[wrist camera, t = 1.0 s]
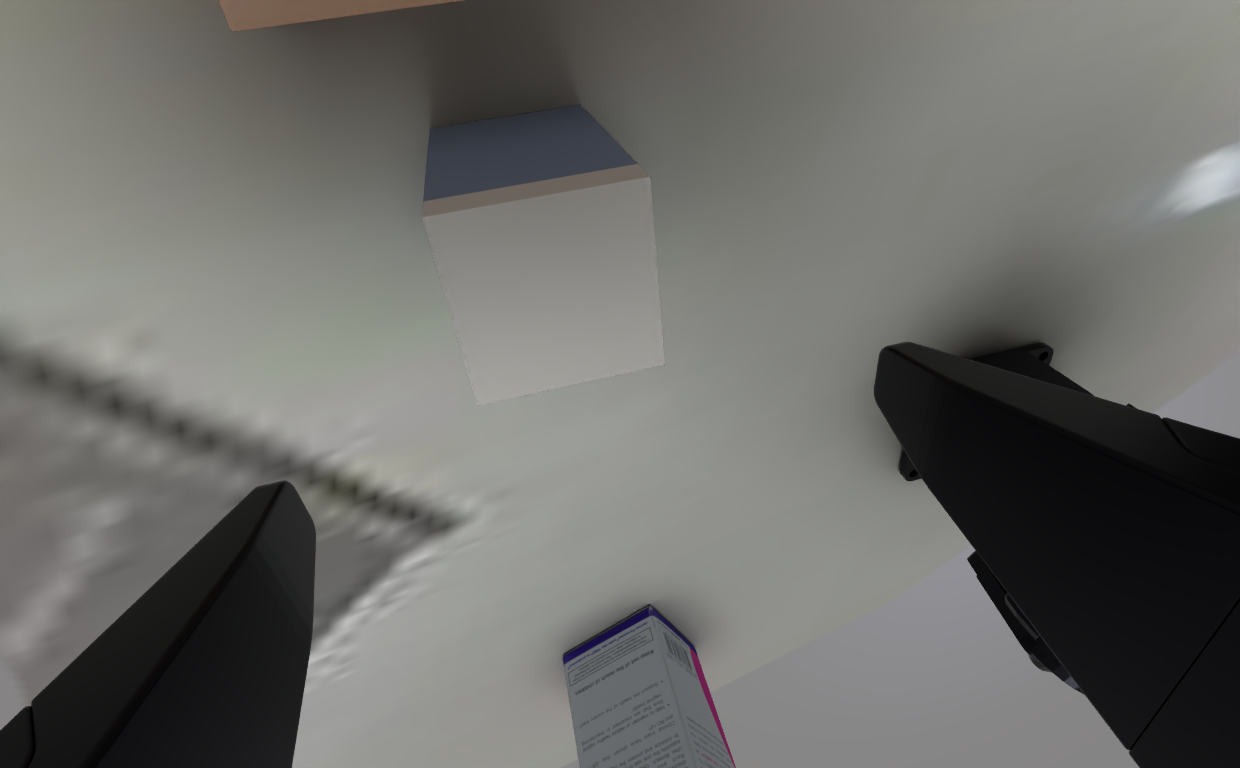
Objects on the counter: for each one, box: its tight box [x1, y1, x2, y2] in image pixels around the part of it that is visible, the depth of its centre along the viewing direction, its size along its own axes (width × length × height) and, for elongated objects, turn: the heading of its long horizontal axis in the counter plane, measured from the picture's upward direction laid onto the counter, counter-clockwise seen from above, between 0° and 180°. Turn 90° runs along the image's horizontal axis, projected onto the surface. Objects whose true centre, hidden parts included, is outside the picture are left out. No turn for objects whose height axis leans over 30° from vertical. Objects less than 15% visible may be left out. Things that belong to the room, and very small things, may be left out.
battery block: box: [422, 105, 665, 406], centre depth 17 cm, size 4×4×8 cm
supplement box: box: [563, 606, 736, 768], centre depth 30 cm, size 6×6×12 cm
